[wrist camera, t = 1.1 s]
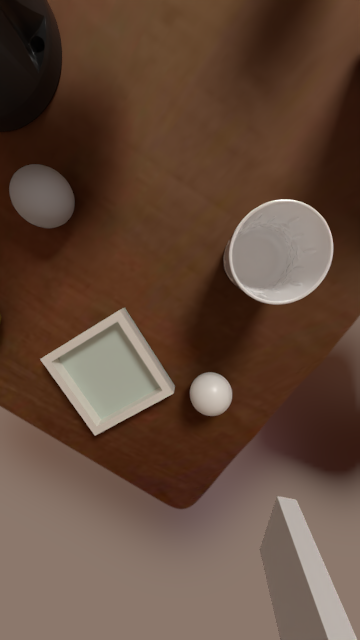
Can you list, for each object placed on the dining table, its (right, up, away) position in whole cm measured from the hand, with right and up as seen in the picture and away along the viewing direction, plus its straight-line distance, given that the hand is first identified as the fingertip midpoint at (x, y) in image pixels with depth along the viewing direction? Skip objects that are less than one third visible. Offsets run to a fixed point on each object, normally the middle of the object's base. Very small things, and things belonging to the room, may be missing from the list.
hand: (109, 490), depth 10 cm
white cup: (+11, +14, +19) cm, 26 cm away
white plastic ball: (+7, -1, +22) cm, 23 cm away
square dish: (-6, 0, +23) cm, 23 cm away
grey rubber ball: (-11, +20, +19) cm, 30 cm away
